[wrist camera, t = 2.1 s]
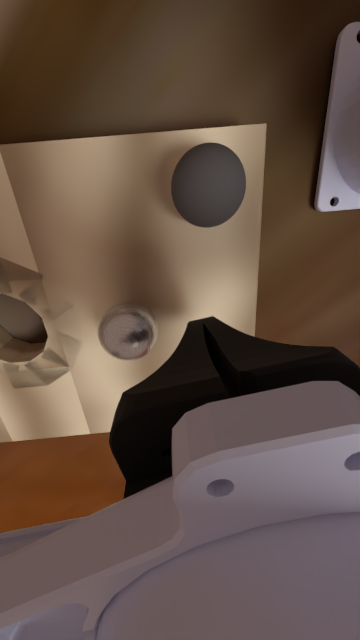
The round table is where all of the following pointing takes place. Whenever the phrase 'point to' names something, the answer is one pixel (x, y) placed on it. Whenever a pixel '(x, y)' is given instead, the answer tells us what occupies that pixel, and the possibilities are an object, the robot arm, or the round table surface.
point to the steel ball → (128, 331)
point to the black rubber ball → (208, 185)
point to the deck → (112, 266)
